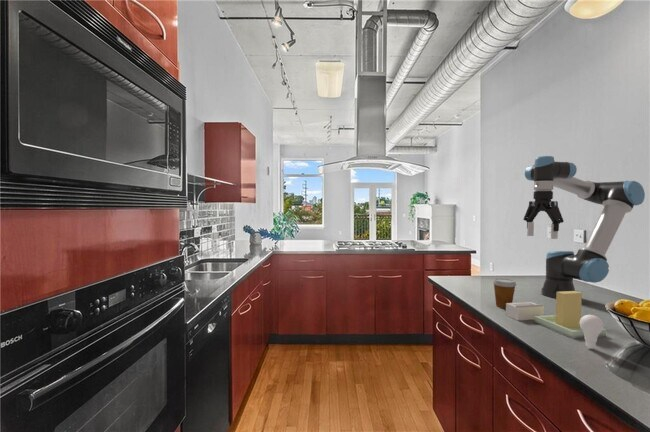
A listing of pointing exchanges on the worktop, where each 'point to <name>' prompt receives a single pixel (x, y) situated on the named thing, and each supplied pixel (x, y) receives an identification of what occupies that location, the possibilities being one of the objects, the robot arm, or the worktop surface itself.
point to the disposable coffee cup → (504, 291)
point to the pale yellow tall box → (568, 309)
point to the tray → (570, 332)
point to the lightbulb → (591, 329)
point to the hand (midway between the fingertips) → (541, 237)
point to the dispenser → (524, 310)
